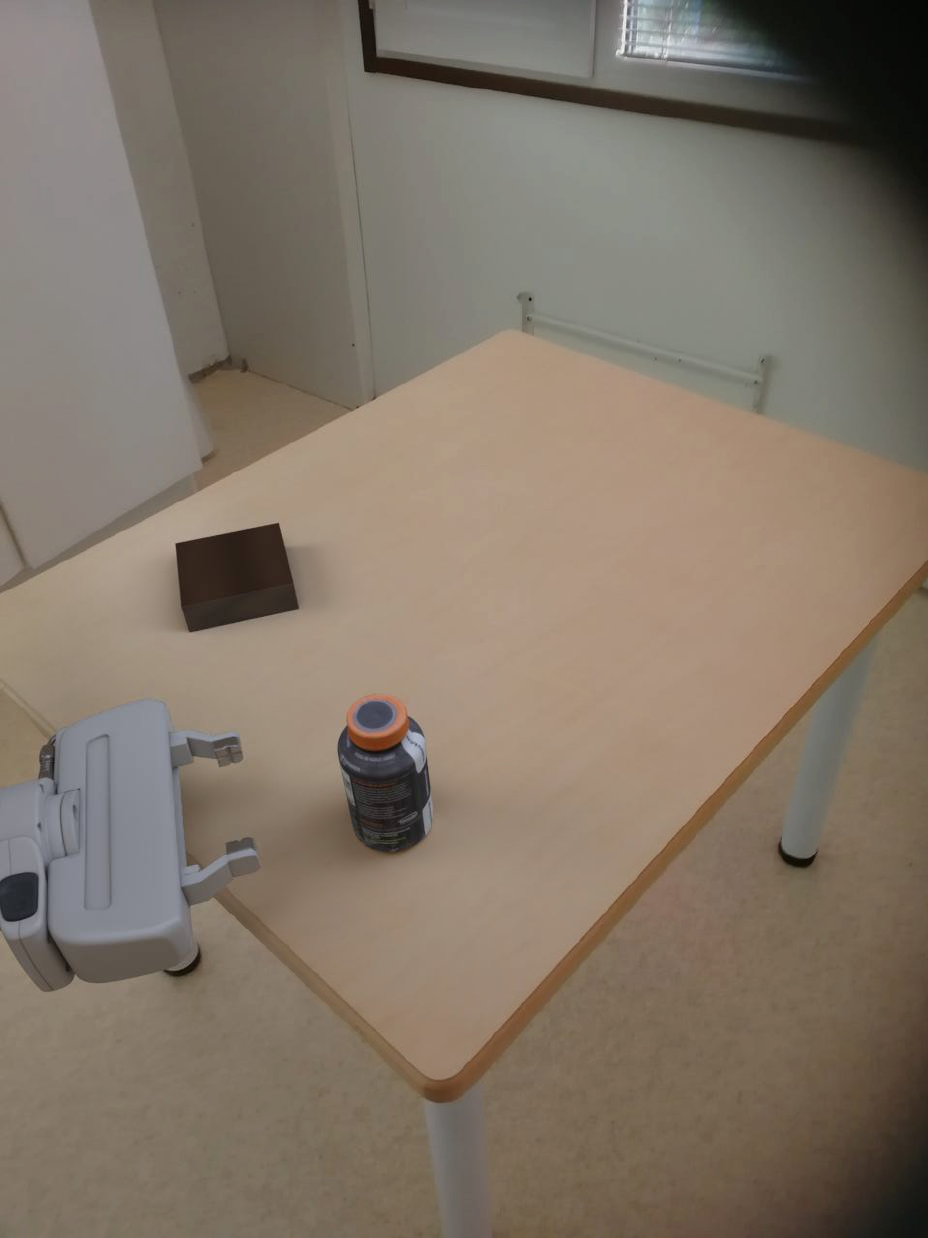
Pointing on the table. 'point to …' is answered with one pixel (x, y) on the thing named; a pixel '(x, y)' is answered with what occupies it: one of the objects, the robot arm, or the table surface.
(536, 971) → the table surface
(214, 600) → the walnut stand
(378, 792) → the pill bottle
